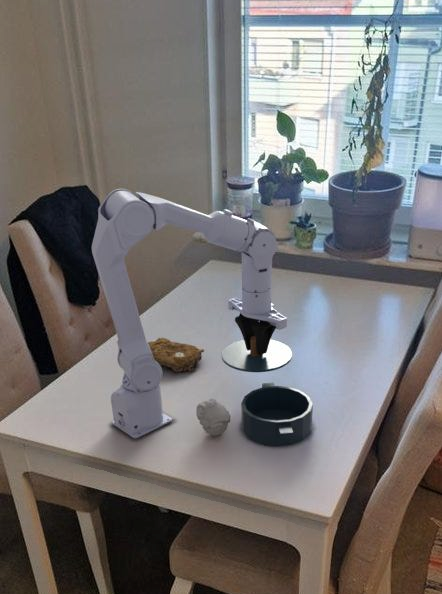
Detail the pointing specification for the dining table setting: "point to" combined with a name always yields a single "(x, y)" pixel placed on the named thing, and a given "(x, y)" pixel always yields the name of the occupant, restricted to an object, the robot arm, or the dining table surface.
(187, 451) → the dining table surface
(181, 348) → the decorative rock
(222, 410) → the grey lumpy piece
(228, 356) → the pan lid
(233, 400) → the dining table surface
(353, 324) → the dining table surface
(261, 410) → the pan
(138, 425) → the robot arm
